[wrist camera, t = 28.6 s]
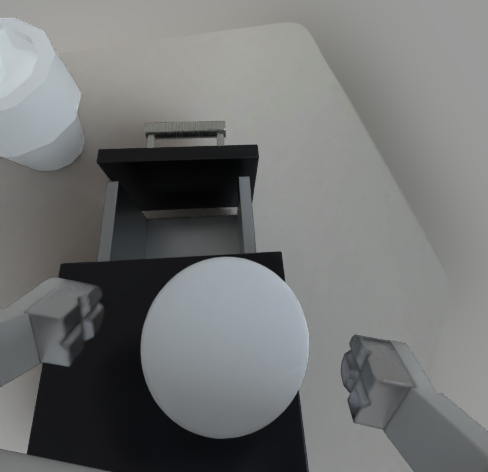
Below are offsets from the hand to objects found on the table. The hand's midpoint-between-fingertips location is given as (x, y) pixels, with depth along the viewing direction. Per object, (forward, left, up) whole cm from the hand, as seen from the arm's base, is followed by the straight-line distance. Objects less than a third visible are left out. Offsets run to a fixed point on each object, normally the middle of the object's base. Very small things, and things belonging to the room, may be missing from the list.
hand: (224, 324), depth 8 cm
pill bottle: (0, 0, -6) cm, 6 cm away
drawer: (+3, -9, -15) cm, 17 cm away
